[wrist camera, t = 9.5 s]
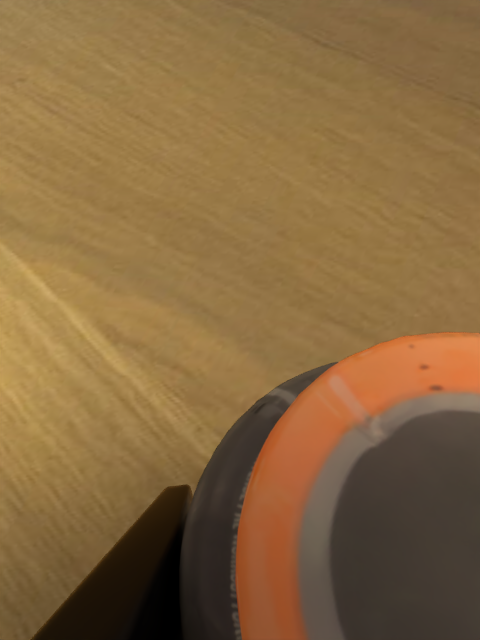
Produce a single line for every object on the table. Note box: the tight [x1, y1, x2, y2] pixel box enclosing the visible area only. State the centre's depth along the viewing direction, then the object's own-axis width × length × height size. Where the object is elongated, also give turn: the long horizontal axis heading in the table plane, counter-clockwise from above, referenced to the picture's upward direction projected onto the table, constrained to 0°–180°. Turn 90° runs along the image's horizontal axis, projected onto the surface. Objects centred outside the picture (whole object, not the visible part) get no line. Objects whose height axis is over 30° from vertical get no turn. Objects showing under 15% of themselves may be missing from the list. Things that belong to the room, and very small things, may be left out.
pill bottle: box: [179, 332, 480, 640], centre depth 8 cm, size 6×6×11 cm
